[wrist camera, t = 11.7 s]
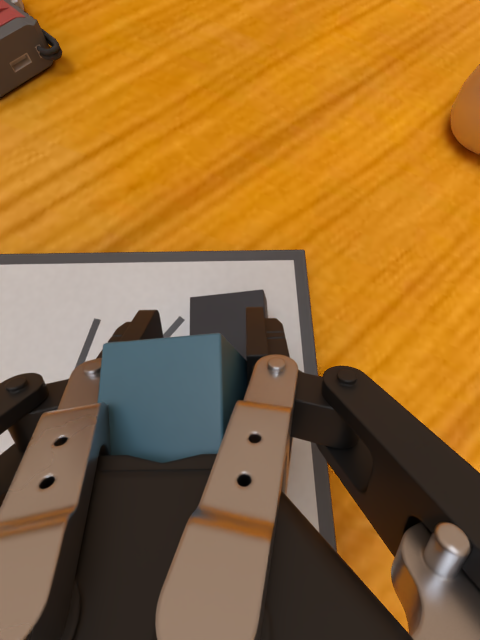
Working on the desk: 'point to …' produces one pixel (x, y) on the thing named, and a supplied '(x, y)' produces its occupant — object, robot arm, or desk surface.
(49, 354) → the whiteboard
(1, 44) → the walkie-talkie
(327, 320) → the desk surface
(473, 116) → the plastic bottle
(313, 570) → the robot arm
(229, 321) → the eraser
